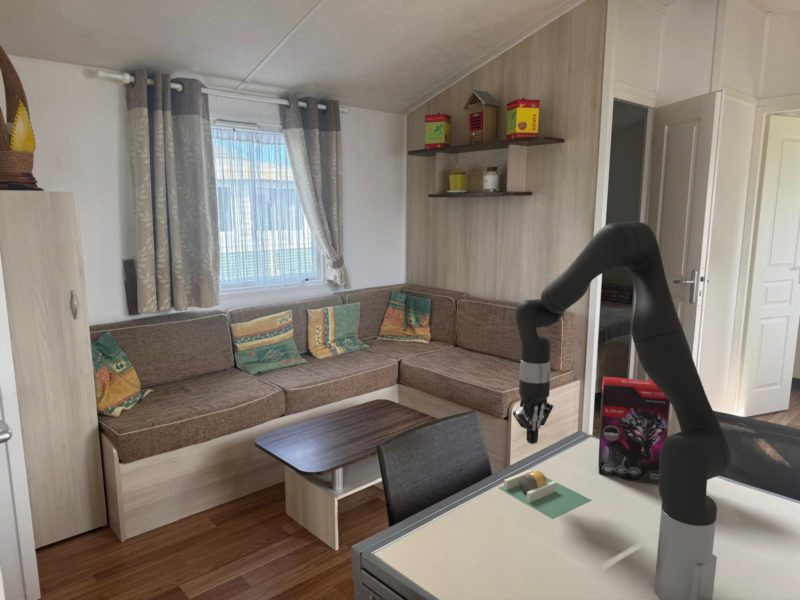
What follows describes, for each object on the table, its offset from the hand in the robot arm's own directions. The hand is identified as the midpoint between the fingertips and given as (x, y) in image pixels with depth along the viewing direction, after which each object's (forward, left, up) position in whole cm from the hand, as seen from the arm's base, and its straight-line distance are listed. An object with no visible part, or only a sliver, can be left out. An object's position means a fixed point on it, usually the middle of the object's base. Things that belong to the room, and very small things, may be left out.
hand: (532, 442), depth 145 cm
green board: (-3, -2, -14) cm, 14 cm away
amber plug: (0, 0, -13) cm, 13 cm away
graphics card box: (-9, -30, -14) cm, 34 cm away
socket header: (0, 0, -14) cm, 14 cm away
